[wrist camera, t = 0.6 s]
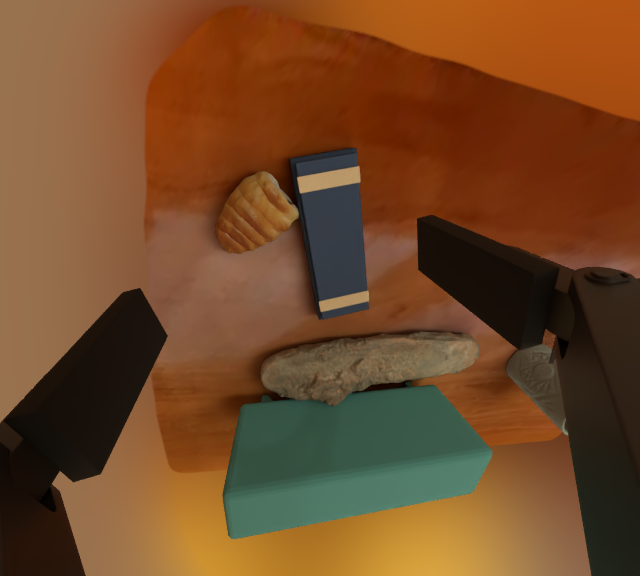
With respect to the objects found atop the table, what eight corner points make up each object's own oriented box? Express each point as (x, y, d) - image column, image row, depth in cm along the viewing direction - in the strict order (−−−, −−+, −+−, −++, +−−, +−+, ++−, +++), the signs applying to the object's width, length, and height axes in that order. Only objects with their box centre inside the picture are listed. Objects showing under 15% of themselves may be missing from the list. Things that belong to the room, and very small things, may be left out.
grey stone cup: (511, 343, 50) (577, 396, 40) (560, 335, 52) (636, 384, 41) (497, 385, 55) (553, 442, 44) (542, 376, 56) (607, 430, 46)
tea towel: (288, 158, 30) (291, 159, 28) (351, 147, 31) (358, 147, 29) (316, 313, 40) (320, 323, 37) (364, 302, 40) (370, 311, 38)
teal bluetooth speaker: (236, 435, 48) (228, 546, 34) (232, 389, 43) (221, 498, 30) (420, 412, 54) (472, 498, 41) (434, 371, 50) (497, 452, 37)
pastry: (245, 262, 34) (243, 274, 31) (200, 221, 31) (192, 230, 28) (303, 210, 33) (307, 217, 30) (261, 161, 30) (260, 163, 27)
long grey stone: (458, 362, 51) (470, 314, 47) (479, 382, 47) (494, 331, 43) (262, 395, 44) (257, 341, 40) (264, 423, 39) (258, 365, 35)
